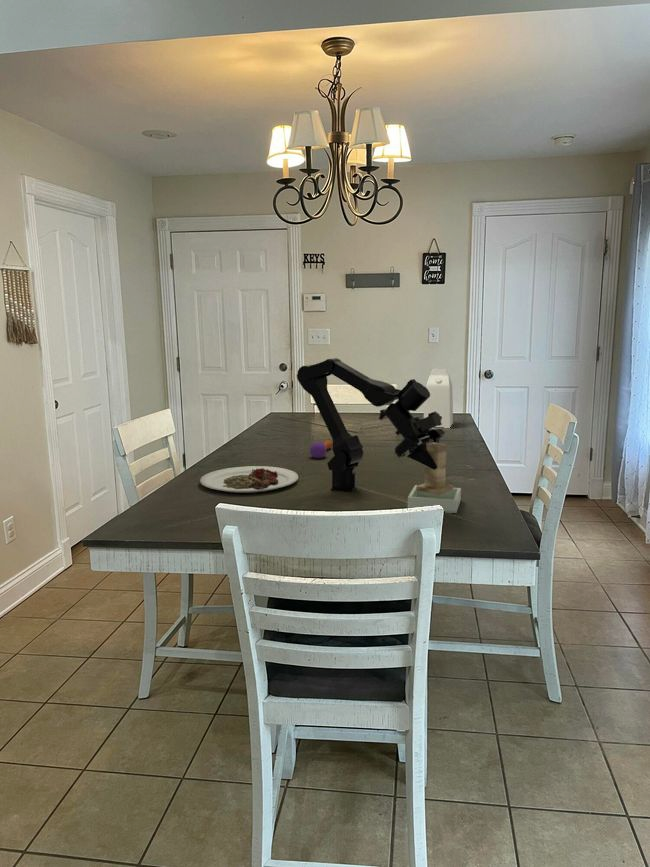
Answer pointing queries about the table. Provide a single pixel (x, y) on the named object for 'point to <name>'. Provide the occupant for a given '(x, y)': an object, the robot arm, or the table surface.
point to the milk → (440, 397)
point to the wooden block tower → (436, 471)
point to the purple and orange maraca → (320, 449)
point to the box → (436, 499)
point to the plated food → (249, 479)
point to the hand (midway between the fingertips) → (439, 466)
